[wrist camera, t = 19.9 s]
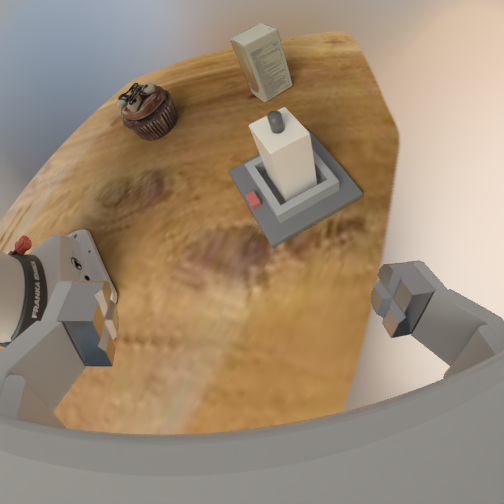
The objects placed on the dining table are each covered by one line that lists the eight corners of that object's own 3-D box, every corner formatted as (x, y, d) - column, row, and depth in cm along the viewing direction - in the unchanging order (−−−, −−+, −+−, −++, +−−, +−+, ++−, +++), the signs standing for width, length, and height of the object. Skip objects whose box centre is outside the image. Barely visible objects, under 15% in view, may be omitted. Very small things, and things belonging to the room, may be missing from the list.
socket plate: (229, 174, 42) (223, 163, 40) (308, 132, 41) (306, 119, 39) (272, 248, 37) (268, 239, 34) (362, 196, 36) (364, 185, 34)
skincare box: (278, 76, 48) (262, 21, 36) (293, 86, 46) (279, 27, 35) (249, 93, 48) (227, 38, 37) (263, 104, 46) (243, 45, 35)
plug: (268, 175, 40) (243, 112, 29) (297, 160, 39) (281, 93, 28) (286, 203, 37) (265, 141, 27) (317, 186, 37) (307, 120, 26)
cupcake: (191, 108, 50) (168, 68, 41) (162, 148, 48) (131, 110, 39) (155, 104, 54) (131, 70, 44) (127, 141, 52) (98, 108, 42)
